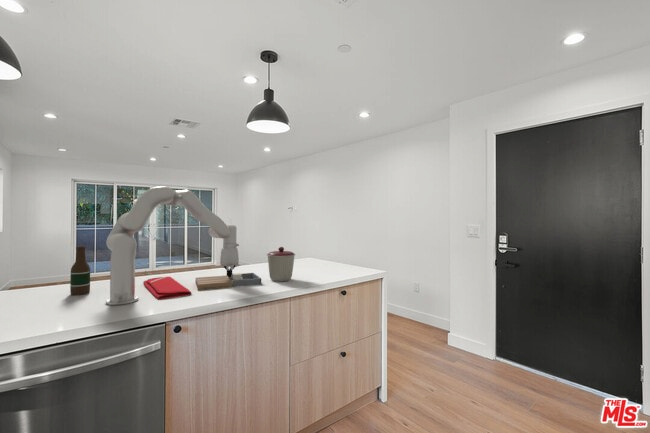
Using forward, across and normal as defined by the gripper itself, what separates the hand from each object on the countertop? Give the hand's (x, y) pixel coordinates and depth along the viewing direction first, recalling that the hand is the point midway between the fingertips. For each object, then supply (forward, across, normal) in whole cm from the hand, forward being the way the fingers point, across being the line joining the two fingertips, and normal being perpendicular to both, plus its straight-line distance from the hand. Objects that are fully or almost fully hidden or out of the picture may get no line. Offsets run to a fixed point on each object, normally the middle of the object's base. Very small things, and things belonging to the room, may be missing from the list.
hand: (229, 276), depth 180 cm
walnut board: (+4, +9, 0) cm, 10 cm away
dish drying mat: (+5, +34, +1) cm, 34 cm away
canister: (+4, -31, +3) cm, 31 cm away
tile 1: (+1, -4, 0) cm, 4 cm away
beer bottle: (+4, +72, -6) cm, 72 cm away
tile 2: (+4, -5, 0) cm, 6 cm away
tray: (+4, -8, 0) cm, 9 cm away
